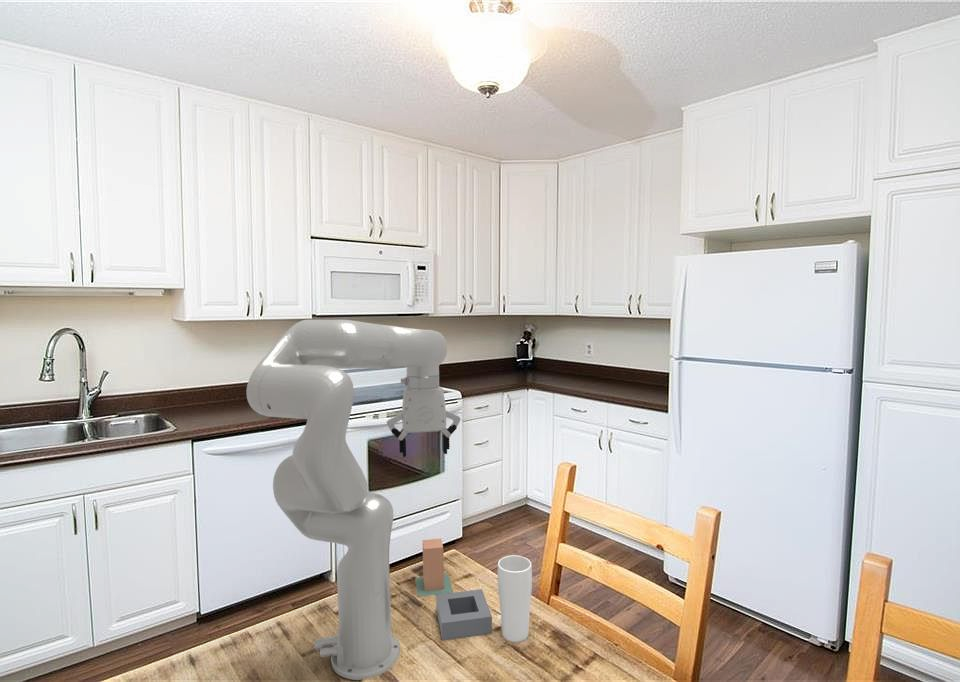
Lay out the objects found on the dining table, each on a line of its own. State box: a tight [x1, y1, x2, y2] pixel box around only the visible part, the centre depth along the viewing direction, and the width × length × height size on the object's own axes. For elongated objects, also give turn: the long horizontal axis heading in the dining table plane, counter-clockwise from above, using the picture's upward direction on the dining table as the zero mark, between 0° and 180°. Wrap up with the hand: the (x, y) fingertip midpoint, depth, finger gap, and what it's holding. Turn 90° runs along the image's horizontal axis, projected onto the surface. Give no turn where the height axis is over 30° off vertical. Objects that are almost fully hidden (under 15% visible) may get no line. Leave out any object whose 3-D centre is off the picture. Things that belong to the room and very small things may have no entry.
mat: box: [415, 573, 454, 598], centre depth 121 cm, size 8×8×1 cm
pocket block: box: [435, 588, 493, 641], centre depth 108 cm, size 10×10×4 cm
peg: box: [422, 538, 445, 591], centre depth 121 cm, size 4×4×10 cm
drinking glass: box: [497, 554, 533, 643], centre depth 103 cm, size 7×7×15 cm
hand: (424, 453), depth 124 cm, fingers open, 9 cm apart
